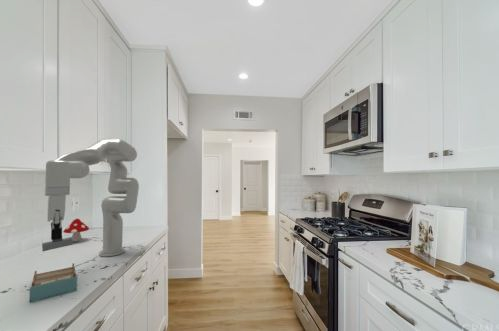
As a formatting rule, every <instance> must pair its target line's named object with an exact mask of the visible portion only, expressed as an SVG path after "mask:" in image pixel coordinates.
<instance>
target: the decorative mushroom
mask: <svg viewBox="0 0 499 331" xmlns="http://www.w3.org/2000/svg"><path fill="white" fill-rule="evenodd" d="M88 230H90V227H89V226H88V225H87V224H85V222H83V221H82V220H81V219H80V218H75V219H72V221H71V223H69V225H67V227H65V229H64V230H62V233H65V234H72V236H71V237H72V243H74V242H75V243H76V242H80V241H81V240H82V235H81V233H82V232H83V233H84V232H87V231H88Z"/></svg>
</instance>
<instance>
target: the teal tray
mask: <svg viewBox="0 0 499 331" xmlns="http://www.w3.org/2000/svg"><path fill="white" fill-rule="evenodd" d="M77 289H78V276H76V277H73V278H69V279H64V280H60V281H55V282H51V283H47V284H42V285H38V286H33V287H32V286H30V287H29V303H34V302H37V301H42V300H44V299H48V298H52V297H55V296H61V295H64V294H68V293H72V292H76V291H77Z"/></svg>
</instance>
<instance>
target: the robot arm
mask: <svg viewBox="0 0 499 331" xmlns="http://www.w3.org/2000/svg"><path fill="white" fill-rule="evenodd" d="M137 155H138V152H137V150H136V148H135V147H134V146H133V145H131V144H129V143H128V142H127V141H125V140H123V139H119V138H113V139H112V138H111V139H110V138H105V139H104V138H103V139H101V140H98V141H97V142H95V143H94V144H92V145H91V146H88V147H87V148H85V149H80V150H77V151H74V152H70V153H67V154H64V155H62V156H60V157H58V158H57V159H54V160H53V159H52V160H48V161H47V162H46V163H45V181H44V182H45V186H44V188H45V189H44V194H45V195H44V196H45V197H48V199H47V200H48V201H47V222H48V223H51V222H52V229H51V231H50V232H51V233H50V234H51V236H50V241H52V240H55V239H61V238H62V239H63V226H62V221H64V220H65V214H66V202H67V201H66V198H67V197H66V196H69V195H70V194H71V192H70V191H71V190H70V188H71V186H70V185H71V179H83V178H85V177H87V176H89V173H90V166H93V165H97V164H99V163H100V162H102V161H104V160H105V159H106V161H107V163H108V164H109V167H110V173H109V180H108V187H107V191H108V192H109V193H110V194H113V195H114V196H113V195H112V196H111V195H110V196H107V197H105V198H103V200H102V201H101V204H100V207H101V211H102V212H101V213H102V219H103V220H102V250H101V251H99V252H98V255H99V256H100V257H106V258H107V257H114V256H115V257H116V256H119V255H122V254H124V253H126V248H125V247H123V235H124V234H123V231H124V230H123V228H124V227H123V225H124V224H123V223H124V221H123V218H122V215H121V214H132V213H133V212H135V210H136V208H137V202H138V196H139V189H140V188H139V187H140V185H139V181H138V180H137V179H136V178H135V177H127V176H128V169H127V166H126V164H124V163H123V162H125V163H126V162H127V163H128V162H134V161H135V160H136V159H137V157H138V156H137ZM120 195H121V196H120ZM123 195H124V196H123ZM125 195H126V196H125ZM50 221H51V222H50Z"/></svg>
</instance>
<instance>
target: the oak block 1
mask: <svg viewBox="0 0 499 331" xmlns="http://www.w3.org/2000/svg"><path fill="white" fill-rule="evenodd" d="M51 282H55V278H51V279H47V280H42V281H41V285H42V284H47V283H51Z"/></svg>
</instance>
